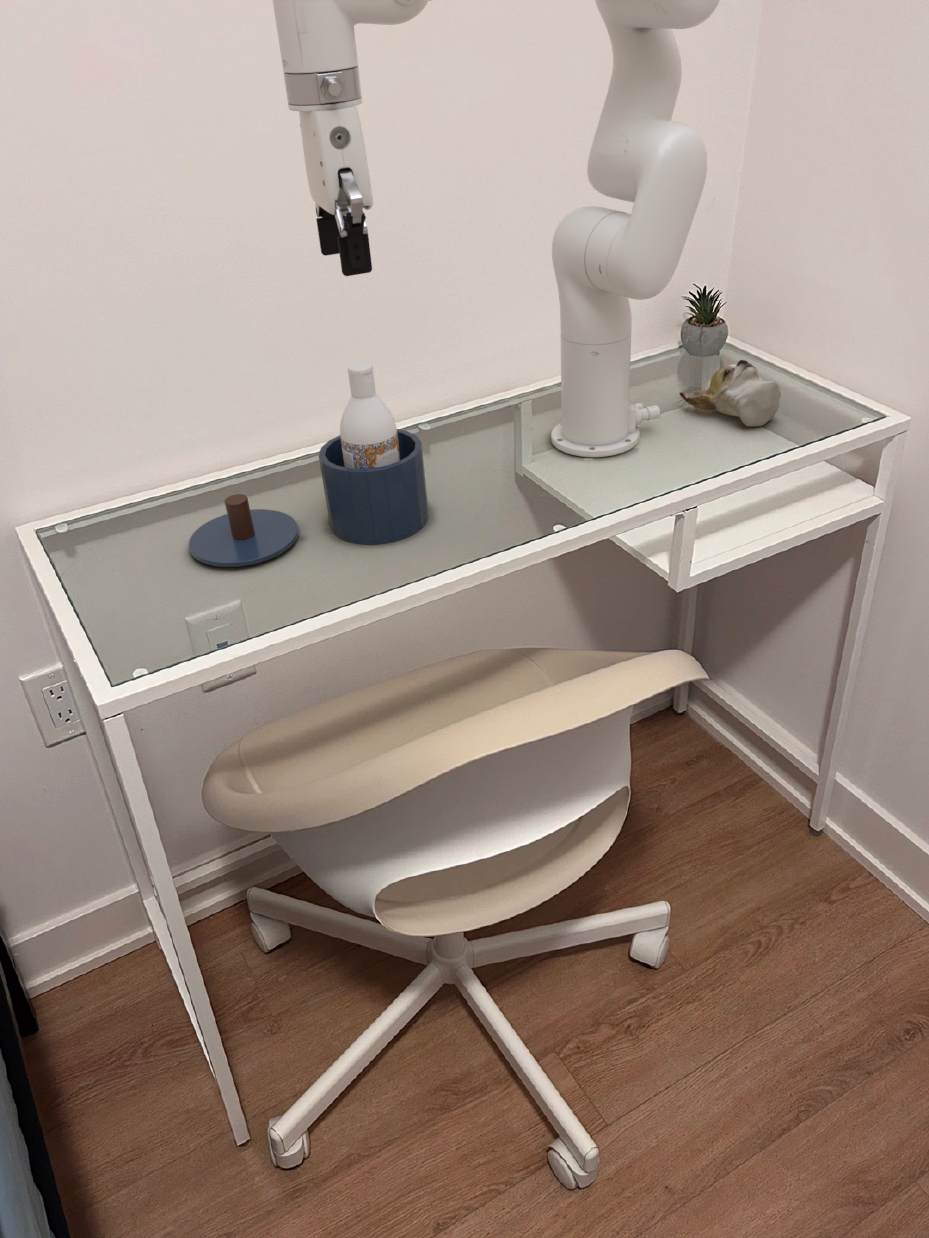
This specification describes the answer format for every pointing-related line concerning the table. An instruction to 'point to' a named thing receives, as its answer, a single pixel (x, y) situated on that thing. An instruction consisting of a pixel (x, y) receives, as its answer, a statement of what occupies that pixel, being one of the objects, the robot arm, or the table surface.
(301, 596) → the table surface
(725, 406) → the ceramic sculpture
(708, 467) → the table surface
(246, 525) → the tin lid
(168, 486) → the table surface
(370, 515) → the tin
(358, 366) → the bath foam
